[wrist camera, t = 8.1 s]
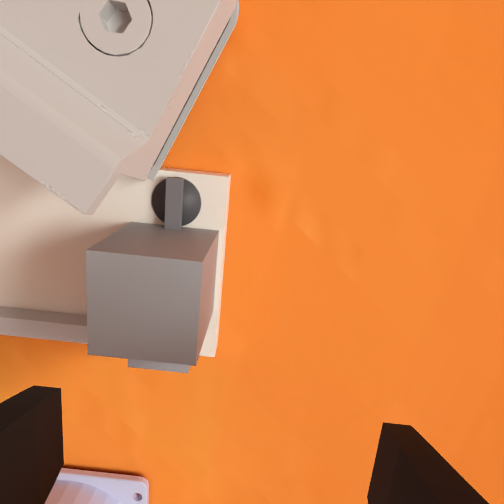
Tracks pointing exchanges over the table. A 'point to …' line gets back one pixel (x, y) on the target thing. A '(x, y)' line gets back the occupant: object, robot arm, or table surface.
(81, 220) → the board
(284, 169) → the table surface
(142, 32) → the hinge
